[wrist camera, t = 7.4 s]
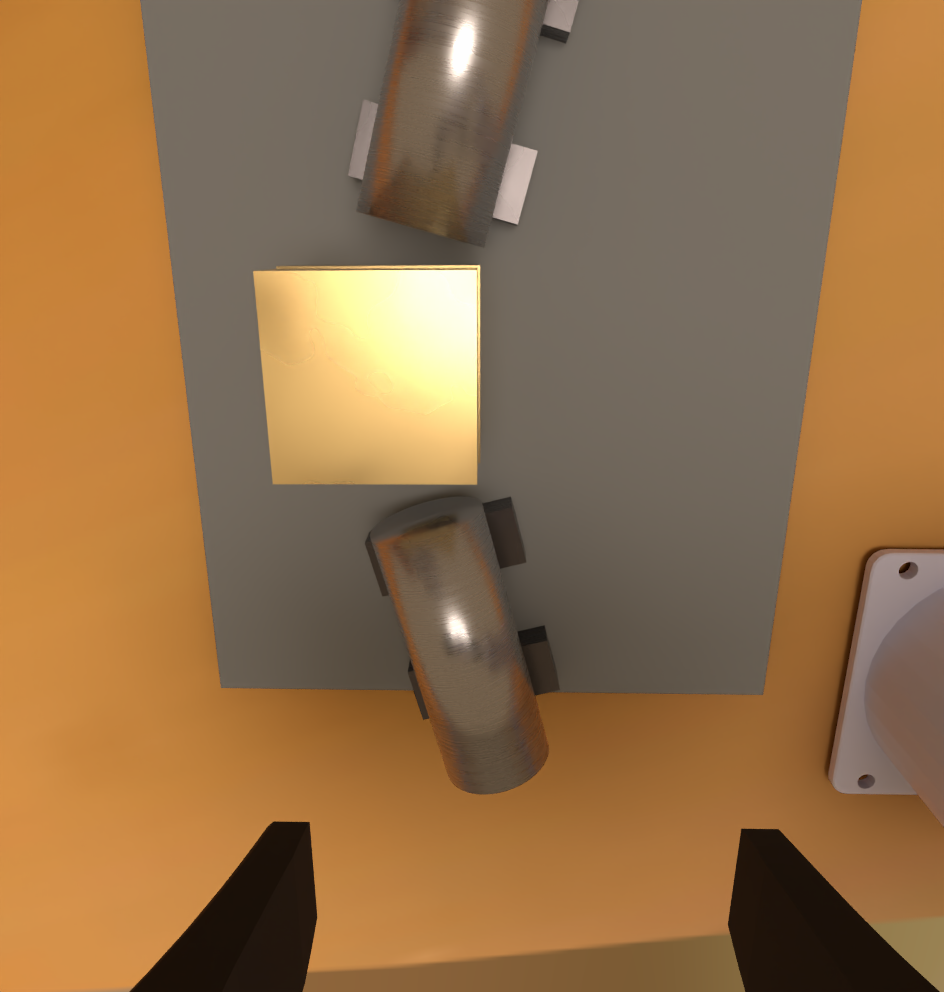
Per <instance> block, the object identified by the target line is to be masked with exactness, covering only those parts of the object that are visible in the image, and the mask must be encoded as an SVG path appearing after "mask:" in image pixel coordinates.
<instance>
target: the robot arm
mask: <svg viewBox="0 0 944 992" xmlns="http://www.w3.org/2000/svg"><path fill="white" fill-rule="evenodd" d="M907 562H910V563H911V565H910V567H909V569H908V570H907V571H906V572H904V573H900V574H899V569H900V567H901V566H902V565H903V564H904V563H907ZM866 774H868V776H867V777H866V778H864V779H862V780H858V779H859V778H860V777H861V776H863V775H866ZM828 776H829V780H830V782H831V783H832V785H833V786H834V788H835V789H836V790H837V791H839V792H840V793H845V794H897V795H918V796H919V797H920V798H921V799H922V801H923V802H924V803H925V804H926V806H927V807H928V808H929V809H930V811H931V812H932V813H933V815H934V816H935V817H936V818H937V820H938V821H939V822H940V823H941V825H942V826H943V827H944V549H884V550H879V551H877V552H876V553H874V554H873V555H872V556H871V557H870V558H869V559H868V561H867V564H866V568H865V573H864V579H863V584H862V590H861V595H860V601H859V607H858V612H857V618H856V623H855V629H854V634H853V640H852V645H851V651H850V656H849V662H848V667H847V673H846V678H845V684H844V690H843V695H842V701H841V706H840V712H839V717H838V723H837V728H836V734H835V739H834V745H833V750H832V756H831V762H830V767H829V773H828ZM316 921H317V909H316V896H315V884H314V871H313V859H312V847H311V834H310V822H273V823H271V824H270V825H269V826H268V827H267V828H266V830H265V831H264V832H263V834H262V835H261V837H260V838H259V839H258V841H257V842H256V843H255V845H254V846H253V847H252V849H251V850H250V851H249V853H248V854H247V855H246V857H245V858H244V859H243V861H242V862H241V863H240V865H239V866H238V867H237V868H236V870H235V871H234V872H233V874H232V875H231V876H230V877H229V879H228V880H227V881H226V883H225V884H224V885H223V886H222V888H221V889H220V890H219V891H218V893H217V894H216V895H215V896H214V897H213V899H212V900H211V901H210V902H209V903H208V905H207V906H206V907H205V908H204V909H203V911H202V912H201V913H200V914H199V915H198V917H197V918H196V919H195V920H194V922H193V923H192V924H191V925H190V926H189V927H188V929H187V930H186V931H185V932H184V933H183V934H182V935H181V937H180V938H179V939H178V940H177V941H176V942H175V943H174V944H173V945H172V947H171V948H170V949H169V950H168V951H167V952H166V953H165V954H164V955H163V956H162V958H161V959H160V960H159V961H158V962H157V963H156V964H155V965H154V966H153V967H152V969H151V970H150V971H149V972H148V973H147V974H146V975H145V976H144V977H143V978H142V979H141V980H140V981H139V982H138V983H137V984H136V985H135V986H134V988H133V989H132V990H131V991H130V992H302V991H303V987H304V984H305V979H306V974H307V969H308V964H309V959H310V954H311V949H312V943H313V938H314V932H315V926H316ZM728 927H729V931H730V935H731V938H732V943H733V947H734V950H735V955H736V959H737V962H738V966H739V970H740V973H741V977H742V981H743V984H744V987H745V992H939V991H938V990H937V989H936V988H935V987H934V986H933V985H931V983H929V981H927V980H926V979H925V978H924V977H923V976H922V975H921V974H920V973H919V972H918V971H917V970H915V969H914V968H913V967H912V966H911V965H910V964H909V963H908V962H907V961H906V960H905V959H904V958H902V956H900V955H899V954H898V953H897V952H896V951H895V950H894V949H893V948H892V947H891V946H890V945H889V944H888V943H887V942H886V941H885V940H884V939H883V938H882V937H881V936H880V935H879V934H878V933H877V932H876V931H875V930H874V929H873V928H872V927H871V926H870V925H869V924H868V923H867V922H866V921H865V920H864V919H863V918H862V917H861V916H860V915H859V914H858V913H857V912H856V911H855V910H854V909H853V908H852V907H851V906H850V905H849V903H848V902H847V901H846V900H845V899H844V898H843V897H842V896H841V895H840V894H839V893H838V892H837V891H836V890H835V889H834V888H833V887H832V886H831V885H830V884H829V882H828V881H827V880H826V879H825V878H824V877H823V876H822V875H821V874H820V873H819V872H818V871H817V870H816V869H815V868H814V867H813V865H812V864H811V863H810V862H809V861H808V860H807V859H806V858H805V857H804V856H803V855H802V854H801V853H800V852H799V850H798V849H797V848H796V847H795V846H794V845H793V844H792V843H791V842H790V841H789V840H788V839H787V838H786V837H785V836H784V835H783V834H782V832H781V831H780V830H779V829H741V836H740V843H739V850H738V857H737V864H736V871H735V878H734V885H733V892H732V899H731V906H730V913H729V921H728Z"/></svg>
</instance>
